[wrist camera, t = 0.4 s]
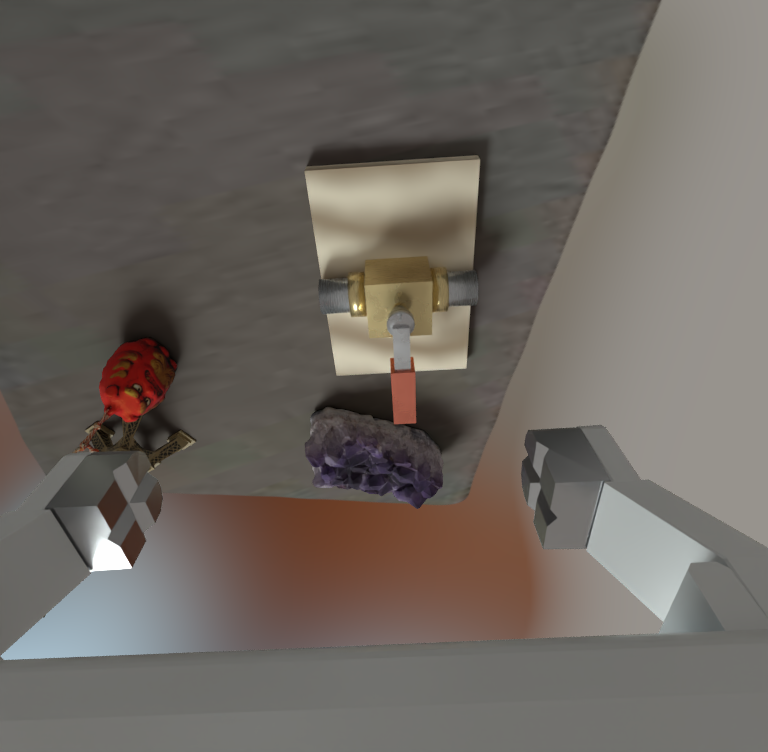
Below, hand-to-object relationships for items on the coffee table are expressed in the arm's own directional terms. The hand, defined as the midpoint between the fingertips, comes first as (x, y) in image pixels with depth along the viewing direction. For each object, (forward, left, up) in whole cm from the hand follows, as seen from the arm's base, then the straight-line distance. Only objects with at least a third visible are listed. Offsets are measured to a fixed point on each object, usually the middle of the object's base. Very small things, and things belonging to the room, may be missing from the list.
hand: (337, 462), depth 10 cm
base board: (+16, +2, -40) cm, 43 cm away
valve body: (+16, +2, -40) cm, 43 cm away
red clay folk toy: (+25, -29, -40) cm, 55 cm away
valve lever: (+21, +2, -32) cm, 39 cm away
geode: (+41, -2, -40) cm, 57 cm away
